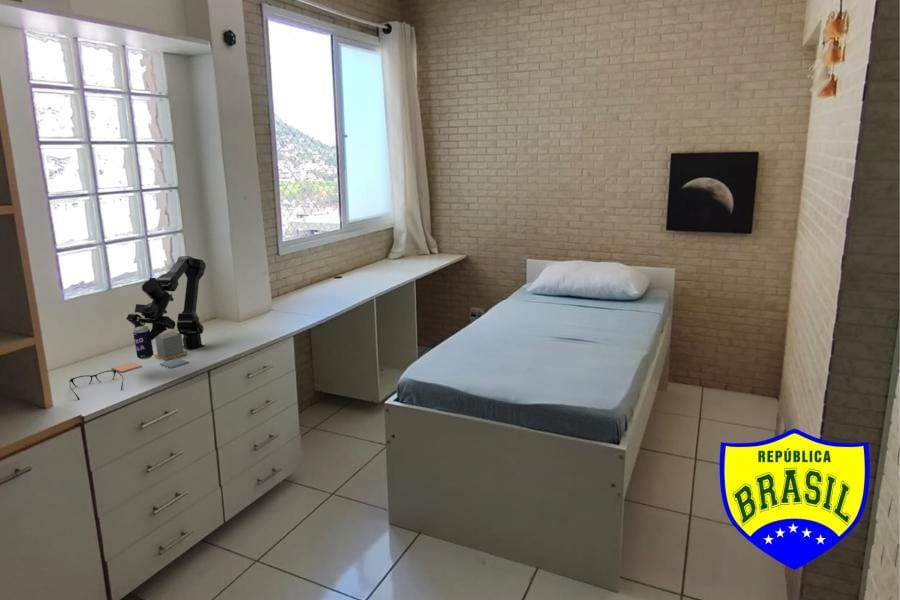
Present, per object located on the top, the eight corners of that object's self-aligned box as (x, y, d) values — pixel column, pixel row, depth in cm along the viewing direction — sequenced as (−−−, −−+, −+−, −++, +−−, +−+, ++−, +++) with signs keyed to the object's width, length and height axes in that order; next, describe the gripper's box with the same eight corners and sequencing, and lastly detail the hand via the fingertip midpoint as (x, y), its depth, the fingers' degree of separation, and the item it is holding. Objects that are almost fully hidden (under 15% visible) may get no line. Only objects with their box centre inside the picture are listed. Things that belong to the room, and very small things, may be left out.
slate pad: (178, 359, 248) (177, 358, 248) (189, 363, 244) (189, 361, 244) (159, 365, 242) (159, 363, 242) (170, 368, 237) (170, 367, 237)
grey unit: (177, 350, 259) (174, 330, 257) (187, 354, 255) (184, 333, 253) (154, 357, 251) (151, 336, 249) (164, 360, 247) (161, 339, 245)
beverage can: (138, 356, 234) (133, 326, 231) (154, 354, 236) (149, 324, 233) (136, 361, 229) (131, 330, 226) (153, 358, 231) (148, 328, 228)
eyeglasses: (119, 378, 230) (118, 368, 229) (127, 390, 217) (125, 380, 216) (69, 388, 220) (67, 378, 219) (73, 402, 208) (71, 391, 207)
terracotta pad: (131, 363, 245) (131, 361, 245) (141, 366, 240) (141, 365, 240) (111, 369, 239) (111, 367, 238) (121, 372, 234) (121, 371, 234)
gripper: (126, 293, 233) (107, 329, 226) (165, 296, 228) (148, 332, 221) (144, 307, 243) (127, 342, 235) (183, 310, 237) (166, 346, 230)
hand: (141, 340), depth 230 cm, fingers closed on beverage can, 6 cm apart
